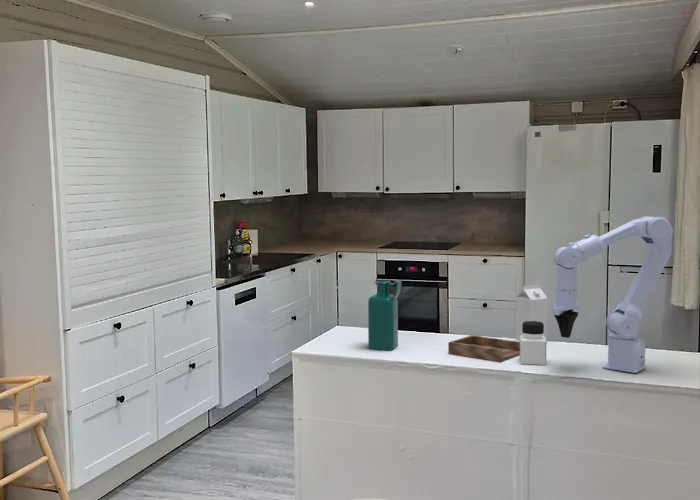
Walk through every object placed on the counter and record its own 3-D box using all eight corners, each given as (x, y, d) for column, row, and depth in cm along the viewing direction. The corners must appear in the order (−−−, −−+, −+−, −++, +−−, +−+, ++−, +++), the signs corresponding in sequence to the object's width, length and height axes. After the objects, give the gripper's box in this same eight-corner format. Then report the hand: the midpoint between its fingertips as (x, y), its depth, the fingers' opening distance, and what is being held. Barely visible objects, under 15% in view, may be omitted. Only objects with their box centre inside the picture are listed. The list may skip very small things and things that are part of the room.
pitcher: (366, 350, 224) (366, 281, 223) (374, 344, 232) (373, 278, 231) (396, 351, 221) (396, 282, 220) (403, 346, 229) (402, 279, 228)
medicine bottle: (546, 365, 202) (546, 324, 201) (520, 364, 203) (520, 323, 202) (544, 359, 209) (544, 319, 208) (519, 358, 210) (520, 319, 209)
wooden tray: (523, 353, 217) (523, 342, 216) (500, 362, 206) (500, 350, 206) (472, 346, 228) (472, 335, 228) (448, 353, 218) (448, 342, 217)
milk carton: (515, 341, 235) (516, 285, 234) (532, 339, 238) (532, 283, 237) (530, 345, 229) (530, 287, 227) (547, 343, 232) (547, 285, 231)
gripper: (563, 285, 207) (562, 331, 208) (541, 291, 196) (541, 339, 197) (587, 287, 202) (586, 334, 203) (565, 293, 191) (565, 342, 192)
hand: (565, 337), depth 200 cm, fingers closed
